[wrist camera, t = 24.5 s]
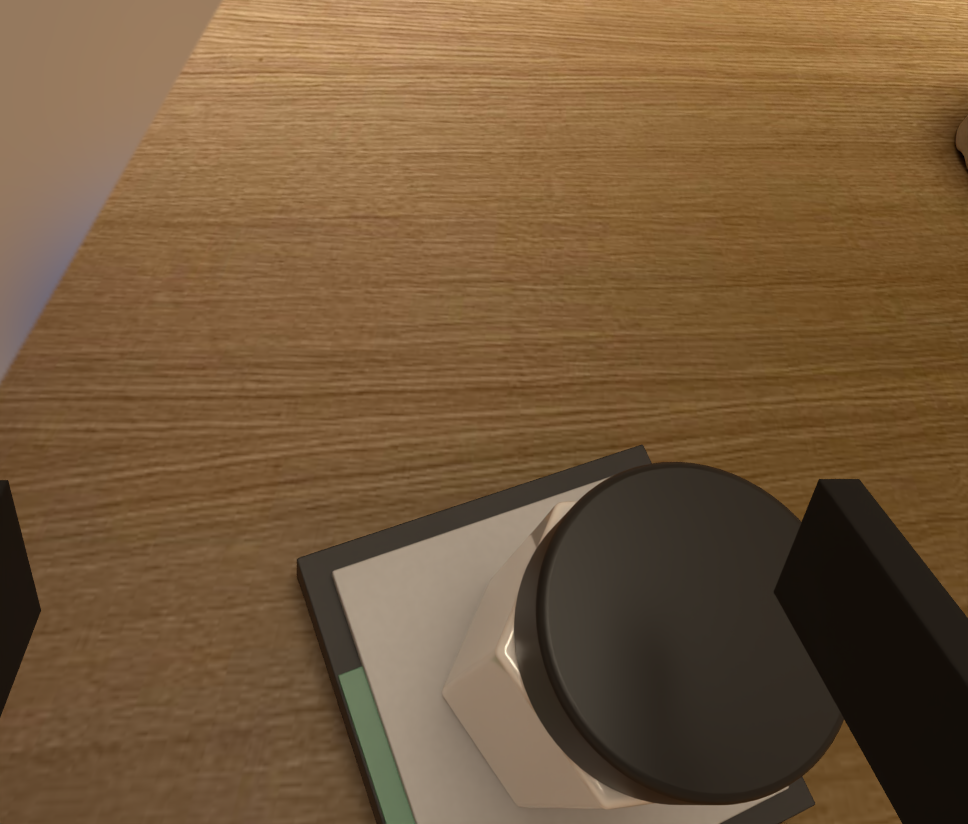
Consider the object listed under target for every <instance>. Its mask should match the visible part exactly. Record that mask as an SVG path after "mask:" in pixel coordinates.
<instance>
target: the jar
mask: <svg viewBox="0 0 968 824" xmlns="http://www.w3.org/2000/svg"><path fill="white" fill-rule="evenodd" d="M801 523H802V522H801V521H800V520H799V519H798V518H797V517H796V516H795V515H794V514H793V513H792V512H791V511H790V510H789V509H788V508H787V507H785V506H784V505H783V504H782V503H781V502H779V501H778V500H777V499H776V498H774V497H773V496H772V495H770V494H769V493H767V492H766V491H764V490H763V489H761V488H760V487H758V486H756V485H754V484H753V483H751V482H749V481H747V480H745V479H743V478H741V477H739V476H737V475H734V474H732V473H729V472H726V471H724V470H721V469H717V468H714V467H710V466H706V465H700V464H695V463H685V462H661V463H653V464H647V465H643V466H638V467H634V468H631V469H628V470H626V471H623V472H620V473H618V474H616V475H614V476H612V477H610V478H608V479H606V480H604V481H602V482H601V483H599V484H598V485H596V486H595V487H594V488H592V489H591V490H590V491H588V492H587V493H586V494H585V495H584V496H583V497H581V498H580V499H579V500H578V501H565V502H559V503H557V504H556V505H555V506H554V507H553V508H552V510H551V511H550V512H549V513H548V514H547V515H546V516H545V518H544V519H543V520H542V521H541V522H540V523H539V524H538V526H537V527H536V528H535V529H534V530H533V531H532V532H531V534H530V535H529V536H528V537H527V538H526V539H525V540H524V542H523V543H522V544H521V545H520V546H519V547H518V548H517V550H516V551H515V552H514V553H513V554H512V555H511V556H510V558H509V559H508V560H507V561H506V562H505V563H504V564H503V566H502V567H501V568H500V569H499V570H498V571H497V572H496V574H495V575H494V576H493V577H492V578H491V579H490V581H489V583H488V585H487V588H486V590H485V592H484V595H483V597H482V599H481V602H480V604H479V606H478V609H477V611H476V613H475V615H474V618H473V620H472V622H471V625H470V627H469V629H468V632H467V634H466V636H465V638H464V641H463V643H462V645H461V648H460V650H459V652H458V655H457V657H456V659H455V662H454V664H453V666H452V668H451V671H450V673H449V675H448V678H447V680H446V682H445V685H444V687H443V690H442V694H443V697H444V698H445V700H446V701H447V703H448V704H449V706H450V707H451V709H452V710H453V712H454V713H455V715H456V716H457V718H458V719H459V721H460V722H461V724H462V725H463V727H464V728H465V730H466V731H467V732H468V734H469V735H470V737H471V738H472V740H473V741H474V743H475V744H476V746H477V747H478V749H479V750H480V752H481V753H482V755H483V756H484V758H485V759H486V761H487V762H488V764H489V765H490V767H491V768H492V770H493V771H494V773H495V774H496V776H497V777H498V779H499V780H500V782H501V783H502V785H503V786H504V788H505V789H506V791H507V792H508V794H509V795H510V797H511V798H512V800H513V801H514V803H515V804H516V805H517V806H519V807H521V808H565V809H606V810H609V809H617V808H624V807H632V806H639V805H646V804H654V803H657V804H666V805H734V804H740V803H746V802H750V801H754V800H758V799H761V798H764V797H767V796H769V795H772V794H774V793H776V792H778V791H780V790H782V789H784V788H785V787H787V786H789V785H791V784H792V783H793V782H795V781H796V780H798V779H799V778H801V777H802V776H803V775H804V774H805V773H807V772H808V771H809V770H810V769H811V768H812V767H813V766H814V765H815V764H816V763H817V762H818V761H819V760H820V758H821V757H822V756H823V755H824V754H825V752H826V751H827V749H828V748H829V747H830V745H831V744H832V742H833V741H834V739H835V737H836V735H837V733H838V732H839V730H840V728H841V725H842V723H843V720H844V718H843V716H842V714H841V712H840V711H839V709H838V707H837V705H836V703H835V702H834V700H833V698H832V696H831V694H830V693H829V691H828V689H827V687H826V685H825V684H824V682H823V680H822V678H821V676H820V675H819V673H818V671H817V669H816V667H815V666H814V664H813V662H812V660H811V658H810V657H809V655H808V653H807V651H806V650H805V648H804V646H803V644H802V642H801V641H800V639H799V637H798V635H797V633H796V632H795V630H794V628H793V626H792V624H791V623H790V621H789V619H788V617H787V615H786V614H785V612H784V610H783V608H782V606H781V605H780V603H779V601H778V599H777V597H776V596H775V594H774V589H775V587H776V584H777V582H778V579H779V577H780V574H781V572H782V569H783V567H784V564H785V562H786V560H787V557H788V555H789V552H790V550H791V547H792V545H793V542H794V540H795V537H796V535H797V532H798V530H799V527H800V525H801Z"/></svg>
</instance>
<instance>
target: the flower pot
mask: <svg viewBox="0 0 968 824" xmlns="http://www.w3.org/2000/svg"><path fill="white" fill-rule="evenodd" d="M956 147H957V149H958V150H959V151H961V152H962V154H963V155H964V158H965V161H966V166H967V169H968V115H967V116H966V118H965V119H964V120H963V121H962V122H961V124H960V125H959V127H958V130H957V134H956Z"/></svg>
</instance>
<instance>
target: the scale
mask: <svg viewBox="0 0 968 824" xmlns="http://www.w3.org/2000/svg"><path fill="white" fill-rule="evenodd" d="M647 464H652V463H651V461H650V459H649V457H648V455H647V452H646V450H645V448H644V446H643V445H639V446H636V447H633V448H630V449H627V450H624V451H621V452H618V453H615V454H612V455H609V456H606V457H603V458H600V459H597V460H594V461H591V462H588V463H585V464H582V465H579V466H576V467H573V468H570V469H567V470H564V471H560V472H557V473H554V474H551V475H548V476H545V477H542V478H539V479H536V480H533V481H530V482H527V483H524V484H521V485H518V486H515V487H512V488H509V489H506V490H503V491H500V492H497V493H494V494H491V495H488V496H485V497H482V498H479V499H476V500H473V501H470V502H467V503H464V504H461V505H457V506H454V507H451V508H448V509H445V510H442V511H439V512H436V513H433V514H430V515H427V516H424V517H421V518H418V519H415V520H412V521H409V522H406V523H403V524H400V525H397V526H394V527H391V528H388V529H385V530H382V531H379V532H376V533H373V534H370V535H367V536H364V537H361V538H357V539H354V540H351V541H348V542H345V543H342V544H339V545H336V546H333V547H330V548H327V549H324V550H321V551H318V552H315V553H312V554H309V555H306V556H303V557H300V558H298V559H297V577H298V580H299V583H300V586H301V590H302V593H303V596H304V599H305V602H306V605H307V608H308V611H309V614H310V617H311V621H312V624H313V627H314V630H315V633H316V636H317V639H318V642H319V645H320V648H321V652H322V655H323V658H324V661H325V664H326V667H327V670H328V673H329V676H330V680H331V683H332V686H333V689H334V692H335V695H336V698H337V701H338V704H339V707H340V711H341V714H342V717H343V720H344V723H345V726H346V729H347V732H348V735H349V739H350V742H351V745H352V748H353V751H354V754H355V757H356V760H357V763H358V766H359V770H360V773H361V776H362V779H363V782H364V785H365V788H366V791H367V794H368V798H369V801H370V804H371V807H372V810H373V813H374V816H375V819H376V822H377V824H780V823H781V822H783V821H785V820H787V819H789V818H791V817H793V816H795V815H797V814H799V813H800V812H802V811H804V810H806V809H808V808H810V807H812V806H814V805H815V802H814V800H813V798H812V796H811V794H810V792H809V789H808V787H807V785H806V783H805V781H804V779H803V777H801V778H799V779H798V780H796V781H795V782H793V783H792V784H791V785H789V786H787V787H785V788H784V789H782V790H780V791H778V792H776V793H774V794H772V795H769V796H767V797H764V798H761V799H758V800H754V801H750V802H746V803H740V804H734V805H666V804H657V803H654V804H646V805H639V806H632V807H624V808H617V809H609V810H606V809H565V808H521V807H519V806H517V805H516V804H515V803H514V801H513V800H512V798H511V797H510V795H509V794H508V792H507V791H506V789H505V788H504V786H503V785H502V783H501V782H500V780H499V779H498V777H497V776H496V774H495V773H494V771H493V770H492V768H491V767H490V765H489V764H488V762H487V761H486V759H485V758H484V756H483V755H482V753H481V752H480V750H479V749H478V747H477V746H476V744H475V743H474V741H473V740H472V738H471V737H470V735H469V734H468V732H467V731H466V730H465V728H464V727H463V725H462V724H461V722H460V721H459V719H458V718H457V716H456V715H455V713H454V712H453V710H452V709H451V707H450V706H449V704H448V703H447V701H446V700H445V698H444V697H443V694H442V690H443V687H444V685H445V682H446V680H447V678H448V675H449V673H450V671H451V668H452V666H453V664H454V662H455V659H456V657H457V655H458V652H459V650H460V648H461V645H462V643H463V641H464V638H465V636H466V634H467V632H468V629H469V627H470V625H471V622H472V620H473V618H474V615H475V613H476V611H477V609H478V606H479V604H480V602H481V599H482V597H483V595H484V592H485V590H486V588H487V585H488V583H489V581H490V579H491V578H492V577H493V576H494V575H495V574H496V572H497V571H498V570H499V569H500V568H501V567H502V566H503V564H504V563H505V562H506V561H507V560H508V559H509V558H510V556H511V555H512V554H513V553H514V552H515V551H516V550H517V548H518V547H519V546H520V545H521V544H522V543H523V542H524V540H525V539H526V538H527V537H528V536H529V535H530V534H531V532H532V531H533V530H534V529H535V528H536V527H537V526H538V524H539V523H540V522H541V521H542V520H543V519H544V518H545V516H546V515H547V514H548V513H549V512H550V511H551V510H552V508H553V507H554V506H555V505H556V504H557V503H559V502H565V501H578V500H579V499H580V498H581V497H583V496H584V495H585V494H586V493H587V492H588V491H590V490H591V489H592V488H594V487H595V486H596V485H598V484H599V483H601V482H602V481H604V480H606V479H608V478H610V477H612V476H614V475H616V474H618V473H620V472H623V471H626V470H628V469H631V468H634V467H638V466H643V465H647Z"/></svg>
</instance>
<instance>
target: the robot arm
mask: <svg viewBox="0 0 968 824" xmlns="http://www.w3.org/2000/svg"><path fill="white" fill-rule="evenodd" d="M774 594H775V596H776V597H777V599H778V601H779V603H780V605H781V606H782V608H783V610H784V612H785V614H786V615H787V617H788V619H789V621H790V623H791V624H792V626H793V628H794V630H795V632H796V633H797V635H798V637H799V639H800V641H801V642H802V644H803V646H804V648H805V650H806V651H807V653H808V655H809V657H810V658H811V660H812V662H813V664H814V666H815V667H816V669H817V671H818V673H819V675H820V676H821V678H822V680H823V682H824V684H825V685H826V687H827V689H828V691H829V693H830V694H831V696H832V698H833V700H834V702H835V703H836V705H837V707H838V709H839V711H840V712H841V714H842V716H843V718H844V720H845V721H846V723H847V725H848V727H849V728H850V730H851V732H852V734H853V736H854V737H855V739H856V741H857V743H858V745H859V746H860V748H861V750H862V752H863V754H864V755H865V757H866V759H867V761H868V763H869V764H870V766H871V768H872V770H873V772H874V773H875V775H876V777H877V779H878V781H879V782H880V784H881V786H882V788H883V790H884V791H885V793H886V795H887V797H888V798H889V800H890V802H891V804H892V806H893V807H894V809H895V811H896V813H897V815H898V816H899V818H900V820H901V822H902V824H968V618H967V617H966V615H965V614H964V613H963V611H962V610H961V609H960V608H959V606H958V605H957V604H956V602H955V601H954V600H953V599H952V597H951V596H950V595H949V594H948V592H947V591H946V590H945V588H944V587H943V586H942V585H941V583H940V582H939V581H938V579H937V578H936V577H935V576H934V574H933V573H932V572H931V571H930V569H929V568H928V567H927V565H926V564H925V563H924V562H923V560H922V559H921V558H920V556H919V555H918V554H917V553H916V551H915V550H914V549H913V547H912V546H911V545H910V544H909V542H908V541H907V540H906V539H905V537H904V536H903V535H902V533H901V532H900V531H899V530H898V528H897V527H896V526H895V524H894V523H893V522H892V521H891V519H890V518H889V517H888V516H887V514H886V513H885V512H884V510H883V509H882V508H881V507H880V505H879V504H878V503H877V501H876V500H875V499H874V498H873V496H872V495H871V494H870V493H869V491H868V490H867V489H866V487H865V486H864V485H863V484H862V482H861V481H860V480H859V479H819V481H818V483H817V486H816V488H815V490H814V493H813V495H812V498H811V500H810V503H809V505H808V508H807V510H806V513H805V515H804V518H803V520H802V523H801V525H800V527H799V530H798V532H797V535H796V537H795V540H794V542H793V545H792V547H791V550H790V552H789V555H788V557H787V560H786V562H785V564H784V567H783V569H782V572H781V574H780V577H779V579H778V582H777V584H776V587H775V589H774ZM40 612H41V608H40V604H39V600H38V596H37V592H36V588H35V584H34V581H33V577H32V573H31V569H30V565H29V561H28V557H27V553H26V549H25V545H24V541H23V537H22V533H21V529H20V525H19V521H18V517H17V514H16V510H15V506H14V502H13V498H12V494H11V490H10V486H9V482H8V480H0V716H1V714H2V711H3V709H4V706H5V703H6V701H7V698H8V696H9V693H10V690H11V688H12V685H13V682H14V680H15V677H16V675H17V672H18V669H19V667H20V664H21V661H22V659H23V656H24V654H25V651H26V648H27V646H28V643H29V640H30V638H31V635H32V633H33V630H34V627H35V625H36V622H37V620H38V617H39V614H40Z"/></svg>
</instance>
